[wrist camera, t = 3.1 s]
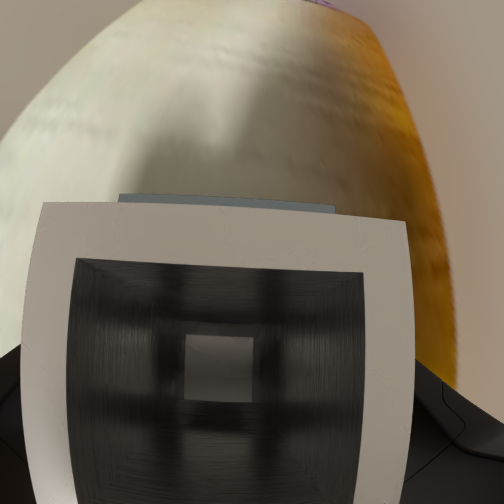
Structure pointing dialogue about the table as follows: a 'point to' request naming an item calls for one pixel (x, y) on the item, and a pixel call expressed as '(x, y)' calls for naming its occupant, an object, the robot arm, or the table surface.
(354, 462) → the square hollow tube
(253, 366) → the grey piece
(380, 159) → the table surface
